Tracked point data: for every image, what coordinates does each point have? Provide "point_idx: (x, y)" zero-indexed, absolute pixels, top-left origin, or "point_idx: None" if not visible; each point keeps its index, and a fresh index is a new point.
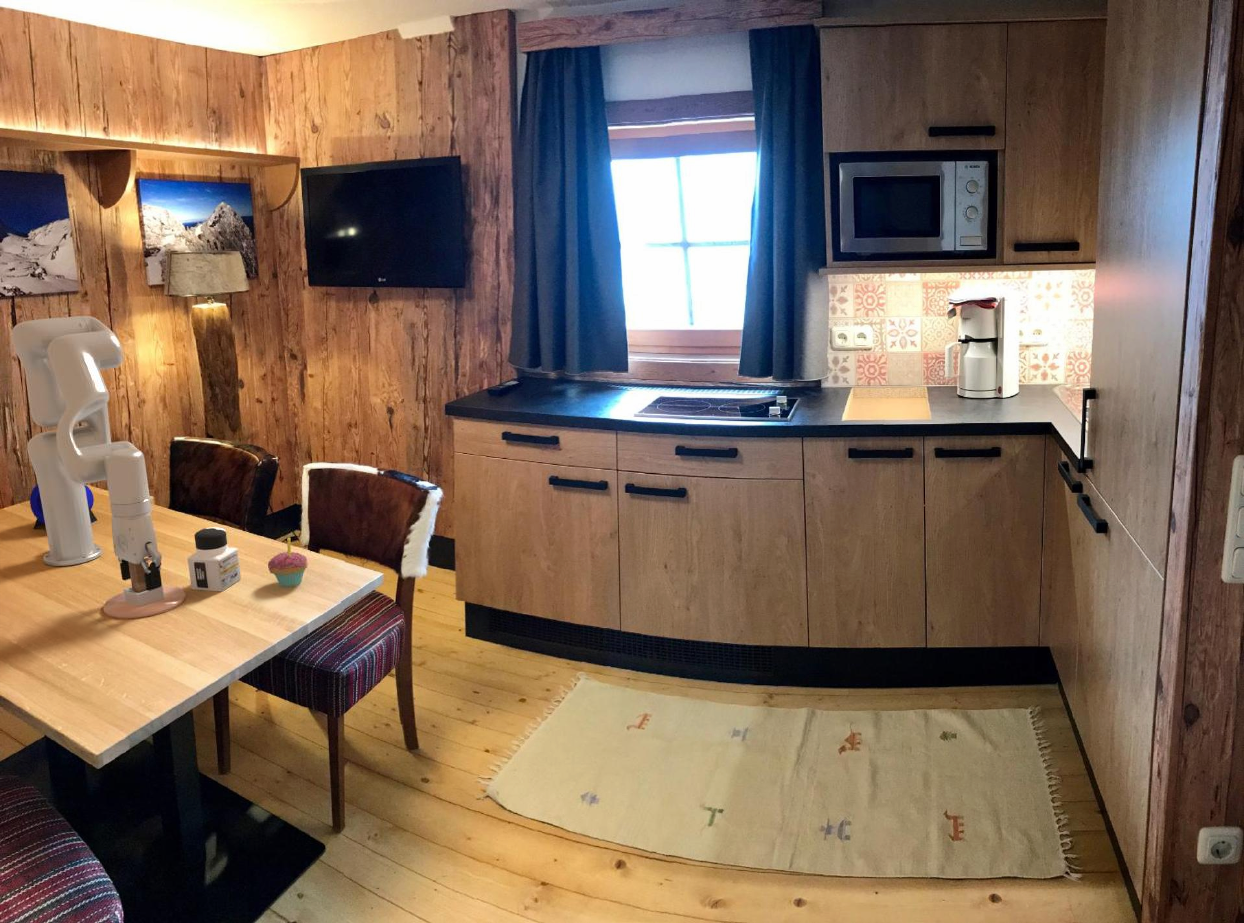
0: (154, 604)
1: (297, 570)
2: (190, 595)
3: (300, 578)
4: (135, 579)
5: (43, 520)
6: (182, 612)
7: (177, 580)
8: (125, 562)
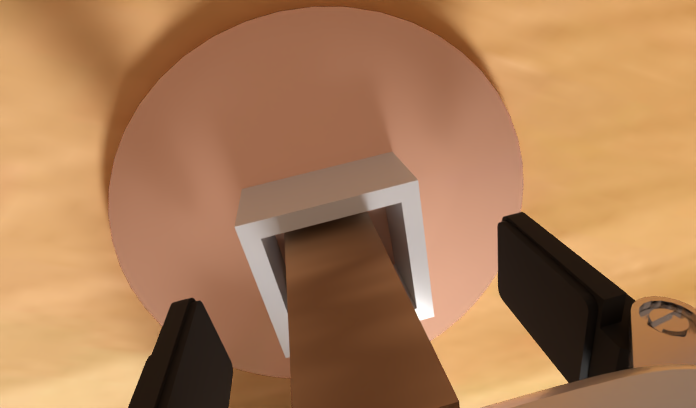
0: (229, 257)
1: None
2: (288, 378)
3: None
4: (320, 294)
5: None
6: (82, 330)
7: (489, 363)
8: (595, 332)
